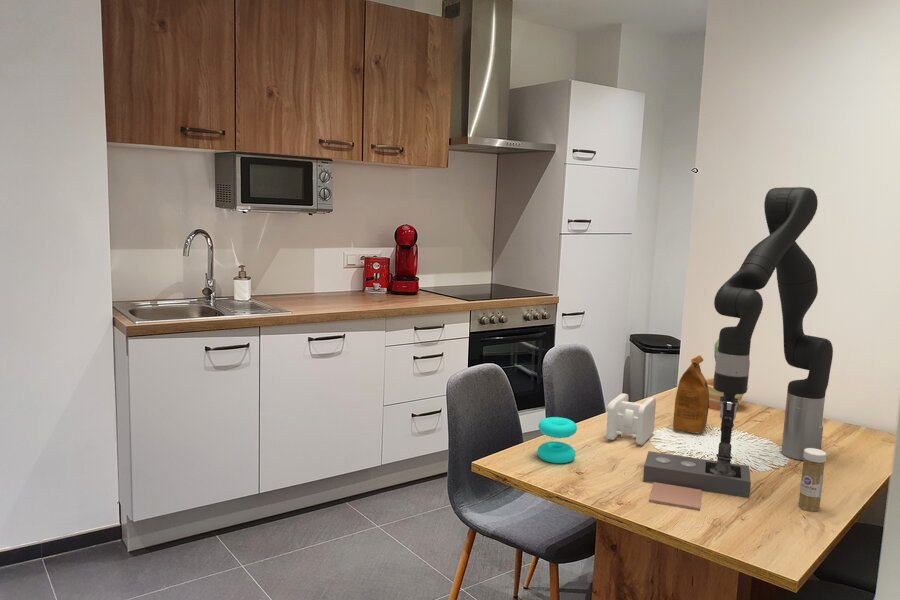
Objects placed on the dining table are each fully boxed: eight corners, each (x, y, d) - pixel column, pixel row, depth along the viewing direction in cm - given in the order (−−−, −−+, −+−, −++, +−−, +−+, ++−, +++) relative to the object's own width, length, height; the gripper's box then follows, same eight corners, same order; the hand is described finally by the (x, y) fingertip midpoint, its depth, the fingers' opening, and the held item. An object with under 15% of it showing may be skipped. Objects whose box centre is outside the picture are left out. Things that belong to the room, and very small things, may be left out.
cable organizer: (640, 449, 197) (643, 408, 195) (603, 442, 202) (606, 402, 200) (654, 434, 210) (657, 396, 208) (619, 428, 215) (621, 390, 213)
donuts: (532, 422, 185) (548, 413, 194) (530, 459, 187) (547, 448, 195) (567, 430, 180) (583, 420, 188) (565, 468, 181) (581, 456, 190)
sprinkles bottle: (795, 507, 162) (801, 450, 160) (801, 501, 165) (806, 445, 163) (817, 513, 159) (823, 456, 157) (822, 507, 162) (828, 450, 160)
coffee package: (711, 426, 219) (717, 356, 216) (702, 437, 208) (709, 364, 205) (678, 420, 224) (684, 352, 221) (668, 431, 213) (673, 359, 210)
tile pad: (701, 492, 169) (701, 489, 169) (699, 510, 158) (700, 508, 158) (653, 484, 172) (653, 482, 172) (648, 501, 162) (648, 499, 162)
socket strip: (747, 481, 176) (749, 465, 176) (749, 498, 166) (750, 481, 165) (647, 465, 184) (648, 450, 184) (643, 481, 174) (644, 464, 174)
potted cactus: (754, 407, 241) (761, 335, 237) (735, 416, 230) (742, 340, 226) (709, 397, 252) (715, 328, 248) (690, 406, 240) (696, 333, 237)
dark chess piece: (736, 491, 170) (741, 443, 168) (710, 488, 171) (714, 440, 169) (732, 482, 175) (736, 435, 174) (707, 479, 177) (711, 433, 175)
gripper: (749, 379, 161) (742, 448, 163) (747, 367, 174) (741, 431, 177) (714, 375, 164) (708, 443, 166) (715, 363, 177) (709, 426, 179)
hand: (725, 437), depth 171 cm, fingers open, 8 cm apart
